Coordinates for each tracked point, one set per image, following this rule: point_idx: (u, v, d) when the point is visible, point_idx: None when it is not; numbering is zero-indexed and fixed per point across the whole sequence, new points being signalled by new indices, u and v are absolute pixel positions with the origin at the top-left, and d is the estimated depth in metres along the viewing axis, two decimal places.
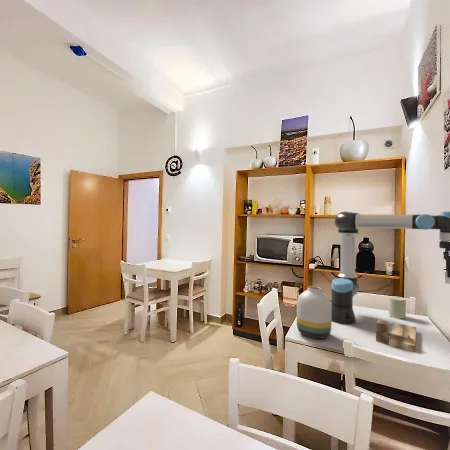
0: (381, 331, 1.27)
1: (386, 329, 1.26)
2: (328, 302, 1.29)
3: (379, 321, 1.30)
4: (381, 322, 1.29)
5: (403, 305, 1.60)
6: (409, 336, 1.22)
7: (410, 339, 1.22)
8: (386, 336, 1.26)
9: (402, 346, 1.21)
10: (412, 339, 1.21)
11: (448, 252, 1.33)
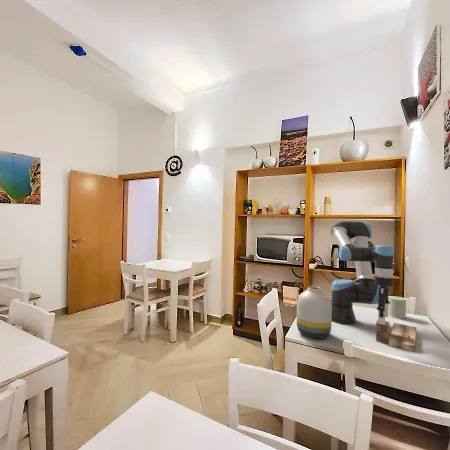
0: (381, 331, 1.27)
1: (386, 329, 1.26)
2: (328, 302, 1.29)
3: None
4: None
5: (403, 305, 1.60)
6: (409, 336, 1.22)
7: (410, 339, 1.22)
8: (386, 336, 1.26)
9: (402, 346, 1.21)
10: (412, 339, 1.21)
11: (381, 290, 1.24)
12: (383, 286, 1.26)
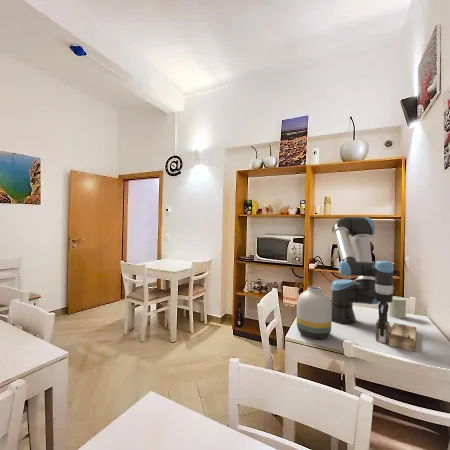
0: None
1: (386, 329, 1.26)
2: (328, 302, 1.29)
3: None
4: None
5: (403, 305, 1.60)
6: (409, 336, 1.22)
7: (410, 339, 1.22)
8: (386, 336, 1.26)
9: (402, 346, 1.21)
10: (412, 339, 1.21)
11: (380, 310, 1.24)
12: (383, 303, 1.26)
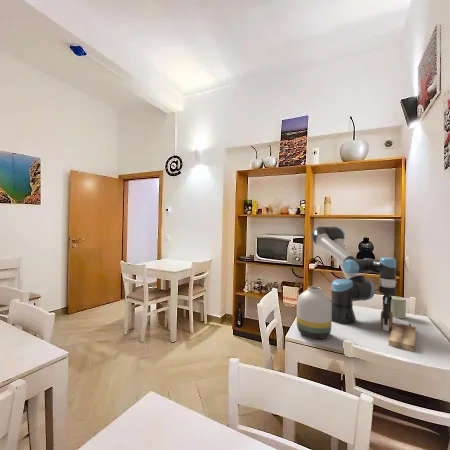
0: None
1: (389, 318, 1.40)
2: (328, 302, 1.29)
3: None
4: None
5: (403, 305, 1.60)
6: (410, 324, 1.37)
7: (411, 327, 1.36)
8: (389, 325, 1.40)
9: (402, 346, 1.21)
10: (413, 327, 1.35)
11: (384, 301, 1.38)
12: (387, 295, 1.40)
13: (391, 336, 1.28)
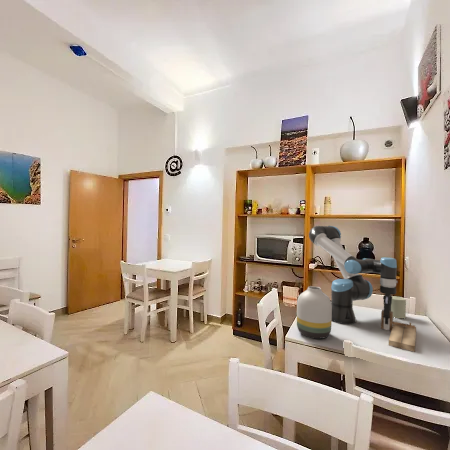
0: None
1: (390, 317, 1.42)
2: (328, 302, 1.29)
3: None
4: None
5: (403, 305, 1.60)
6: (410, 323, 1.38)
7: (411, 326, 1.38)
8: (390, 324, 1.42)
9: (402, 346, 1.21)
10: (413, 326, 1.37)
11: (385, 301, 1.40)
12: (387, 294, 1.42)
13: (391, 336, 1.28)
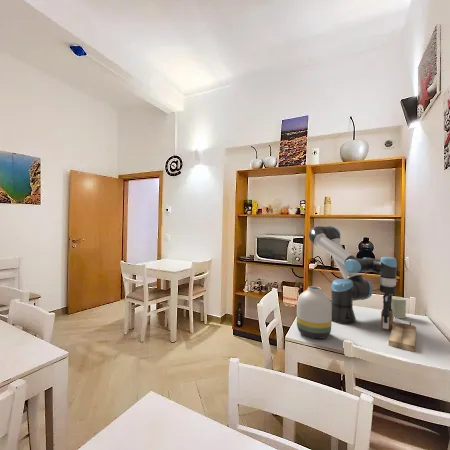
0: None
1: (390, 318, 1.42)
2: (328, 302, 1.29)
3: None
4: None
5: (403, 305, 1.60)
6: (410, 323, 1.38)
7: (411, 326, 1.38)
8: (390, 324, 1.42)
9: (402, 346, 1.21)
10: (413, 326, 1.37)
11: (385, 299, 1.40)
12: (387, 294, 1.42)
13: (391, 336, 1.28)
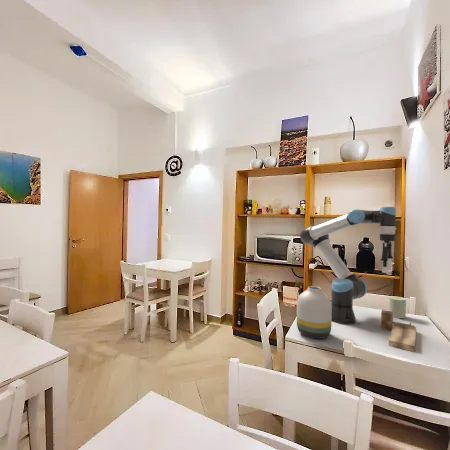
0: (385, 320, 1.43)
1: (390, 318, 1.42)
2: (328, 302, 1.29)
3: (383, 311, 1.46)
4: (385, 312, 1.45)
5: (403, 305, 1.60)
6: (410, 323, 1.38)
7: (411, 326, 1.38)
8: (390, 324, 1.42)
9: (402, 346, 1.21)
10: (413, 326, 1.37)
11: (384, 244, 1.45)
12: (386, 241, 1.47)
13: (391, 336, 1.28)
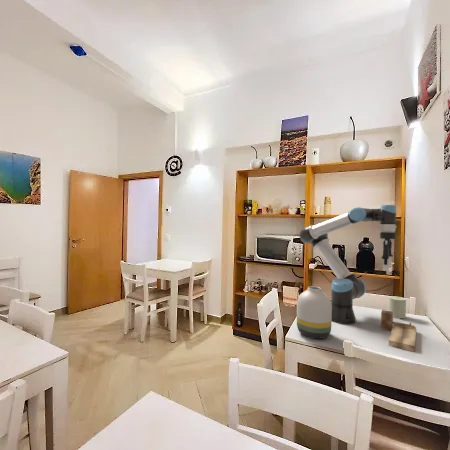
0: (385, 320, 1.43)
1: (390, 318, 1.42)
2: (328, 302, 1.29)
3: (383, 311, 1.46)
4: (385, 312, 1.45)
5: (403, 305, 1.60)
6: (410, 323, 1.38)
7: (411, 326, 1.38)
8: (390, 324, 1.42)
9: (402, 346, 1.21)
10: (413, 326, 1.37)
11: (385, 242, 1.45)
12: (387, 239, 1.47)
13: (391, 336, 1.28)
